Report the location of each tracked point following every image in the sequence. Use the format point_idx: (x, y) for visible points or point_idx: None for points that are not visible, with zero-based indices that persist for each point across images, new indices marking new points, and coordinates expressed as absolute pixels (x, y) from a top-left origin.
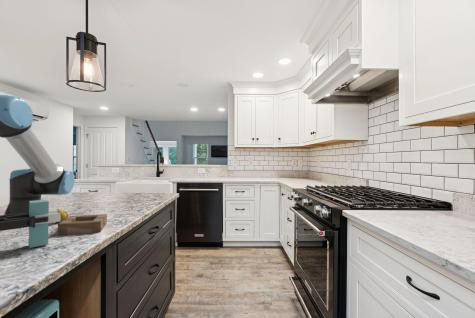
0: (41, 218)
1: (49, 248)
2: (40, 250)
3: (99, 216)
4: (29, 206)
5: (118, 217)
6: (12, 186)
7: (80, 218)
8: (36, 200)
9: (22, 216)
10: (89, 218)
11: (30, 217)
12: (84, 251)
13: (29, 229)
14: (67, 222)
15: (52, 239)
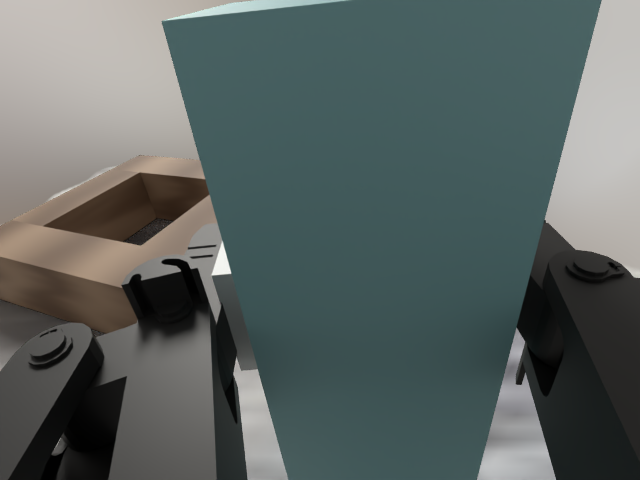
0: (547, 233)
1: (500, 405)
2: (535, 462)
3: (159, 168)
4: (297, 157)
5: (103, 172)
6: None
7: (69, 221)
8: (204, 10)
9: (220, 436)
10: (111, 200)
11: (623, 289)
12: (629, 268)
13: (385, 455)
14: (144, 254)
15: (255, 383)
